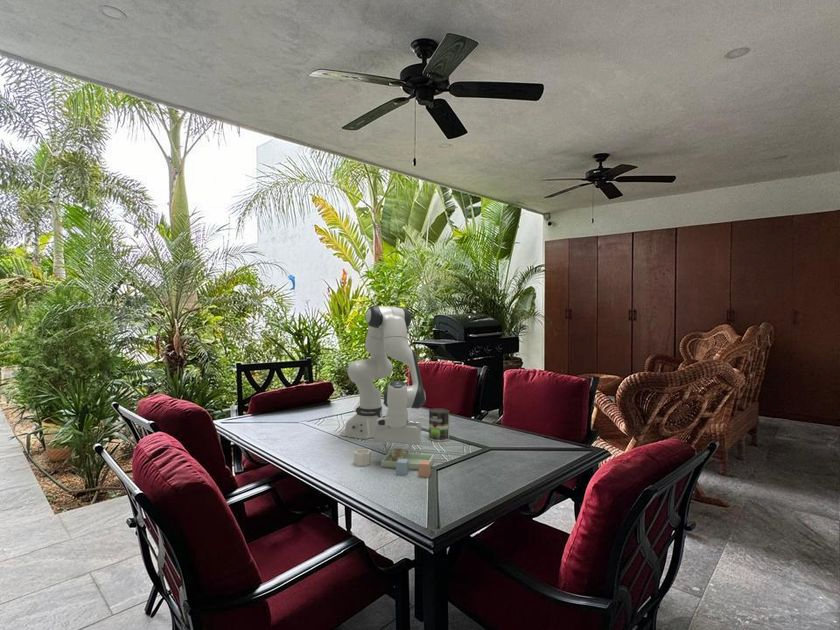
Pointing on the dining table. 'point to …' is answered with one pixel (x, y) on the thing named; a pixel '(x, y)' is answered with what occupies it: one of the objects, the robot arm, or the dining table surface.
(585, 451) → the dining table surface
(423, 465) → the terracotta block
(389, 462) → the tray
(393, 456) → the birch block
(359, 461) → the cup
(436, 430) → the coffee can
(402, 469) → the blue block
